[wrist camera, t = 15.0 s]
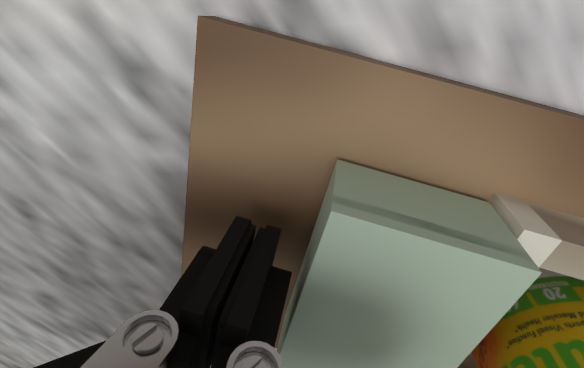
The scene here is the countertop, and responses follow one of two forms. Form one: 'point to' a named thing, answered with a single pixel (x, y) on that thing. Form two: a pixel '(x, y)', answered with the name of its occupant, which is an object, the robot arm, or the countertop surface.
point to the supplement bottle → (539, 328)
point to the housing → (400, 276)
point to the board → (366, 145)
